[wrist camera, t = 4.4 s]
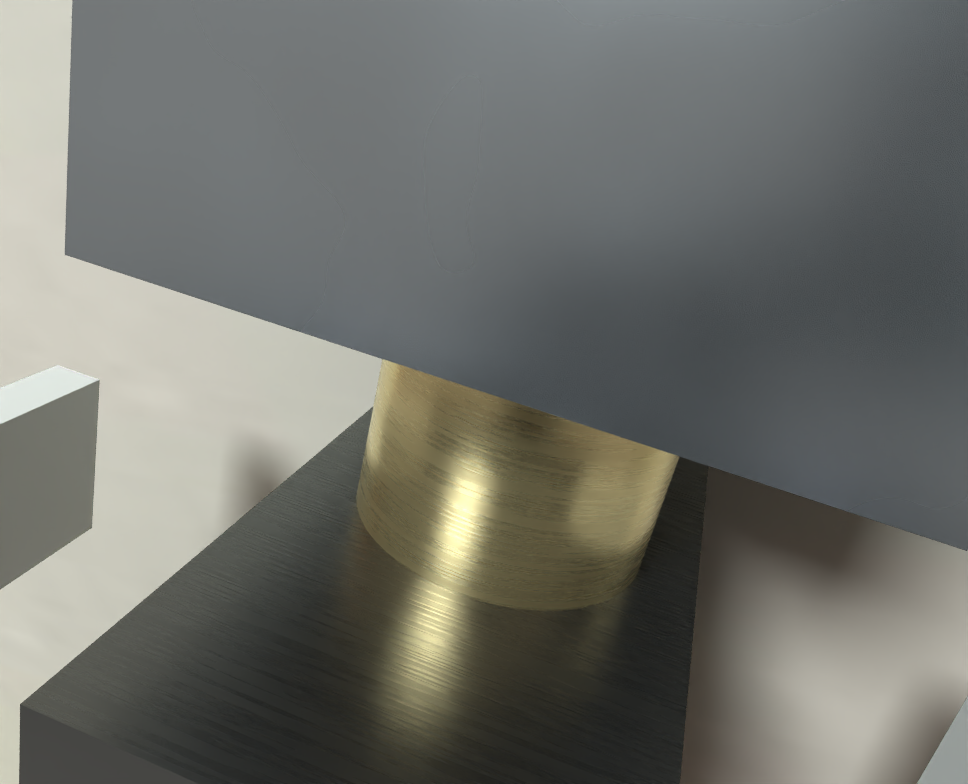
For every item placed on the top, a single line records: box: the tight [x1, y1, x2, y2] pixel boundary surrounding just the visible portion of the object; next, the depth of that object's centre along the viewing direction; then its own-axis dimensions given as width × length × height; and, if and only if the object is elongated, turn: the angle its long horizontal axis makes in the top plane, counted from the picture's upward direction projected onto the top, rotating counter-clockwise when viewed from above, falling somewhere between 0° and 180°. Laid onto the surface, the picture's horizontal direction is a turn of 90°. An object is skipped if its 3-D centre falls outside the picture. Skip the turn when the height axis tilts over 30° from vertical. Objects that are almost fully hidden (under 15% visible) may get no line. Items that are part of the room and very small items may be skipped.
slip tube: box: [19, 359, 708, 784], centre depth 10 cm, size 20×5×10 cm, turn 167°
